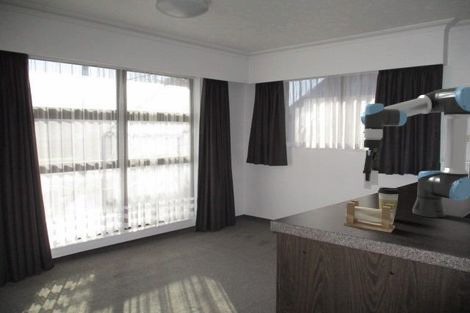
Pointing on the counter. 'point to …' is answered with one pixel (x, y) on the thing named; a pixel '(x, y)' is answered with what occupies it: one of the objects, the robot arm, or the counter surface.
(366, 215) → the rail
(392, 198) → the coffee cup
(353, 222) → the wooden stand
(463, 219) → the counter surface
